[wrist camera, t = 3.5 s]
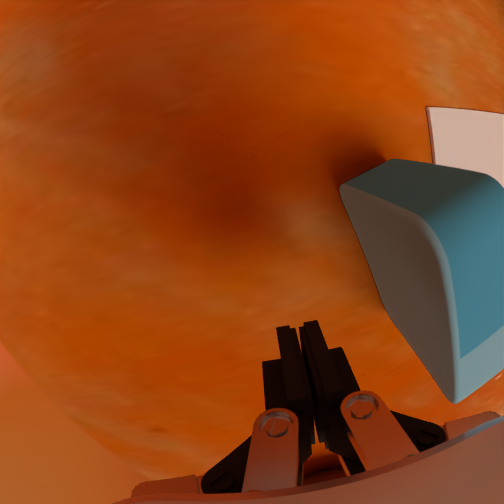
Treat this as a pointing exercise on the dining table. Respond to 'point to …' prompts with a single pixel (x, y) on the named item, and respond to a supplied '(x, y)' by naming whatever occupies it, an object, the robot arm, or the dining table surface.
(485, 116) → the mat
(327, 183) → the dining table surface
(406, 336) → the data package
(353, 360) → the dining table surface
